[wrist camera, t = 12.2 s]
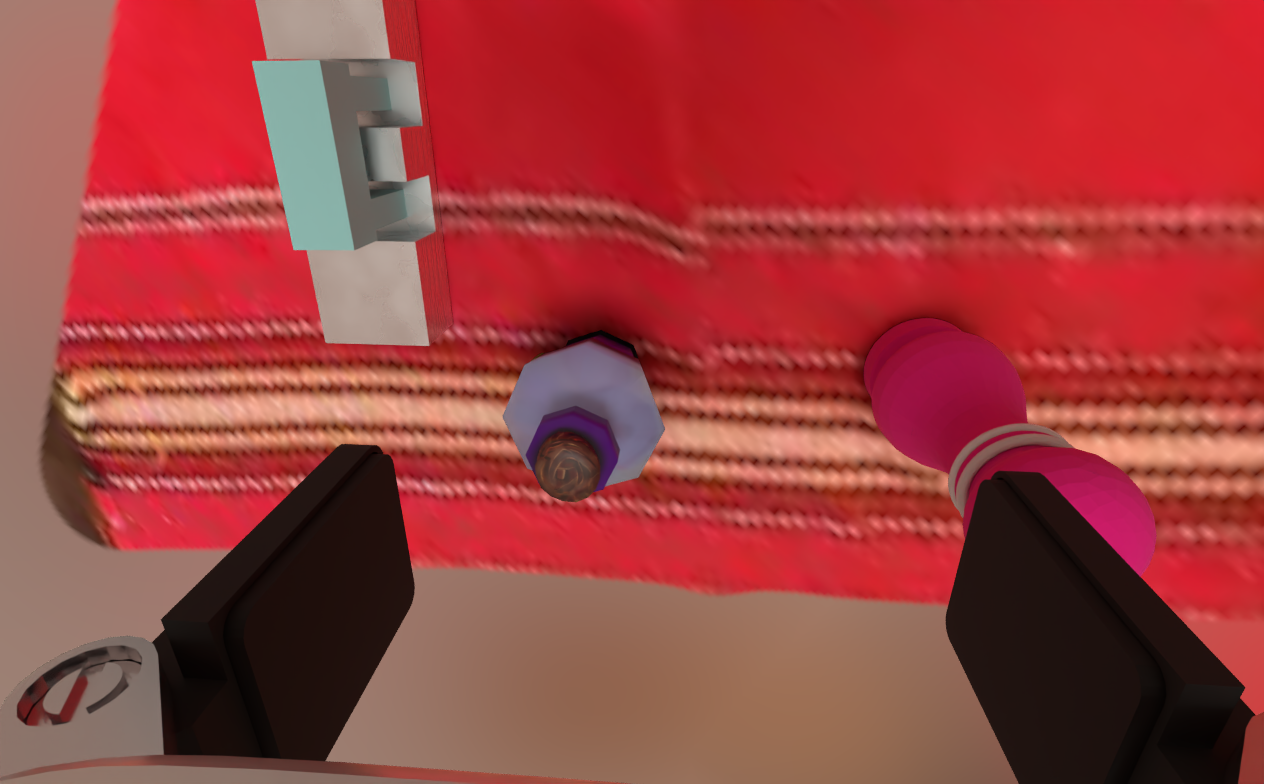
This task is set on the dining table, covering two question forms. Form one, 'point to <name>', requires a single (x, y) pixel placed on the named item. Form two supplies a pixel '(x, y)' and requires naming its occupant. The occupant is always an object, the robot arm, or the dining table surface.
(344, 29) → the rail
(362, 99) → the teal u-shaped block
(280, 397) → the dining table surface
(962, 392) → the pepper mill
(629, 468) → the potion bottle
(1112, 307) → the dining table surface
